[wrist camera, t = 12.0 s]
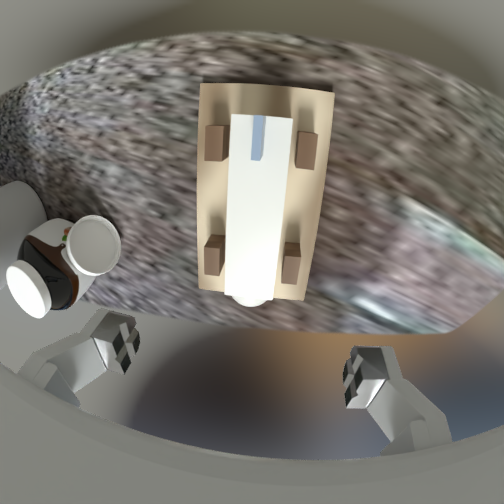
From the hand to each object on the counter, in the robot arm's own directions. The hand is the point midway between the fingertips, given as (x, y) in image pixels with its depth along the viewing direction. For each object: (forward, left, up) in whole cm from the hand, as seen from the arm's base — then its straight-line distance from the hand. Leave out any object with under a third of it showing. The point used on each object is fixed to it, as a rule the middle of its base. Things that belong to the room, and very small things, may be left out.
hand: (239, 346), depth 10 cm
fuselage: (+1, +2, -19) cm, 19 cm away
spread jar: (+23, +7, -20) cm, 31 cm away
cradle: (+1, 0, -20) cm, 20 cm away
